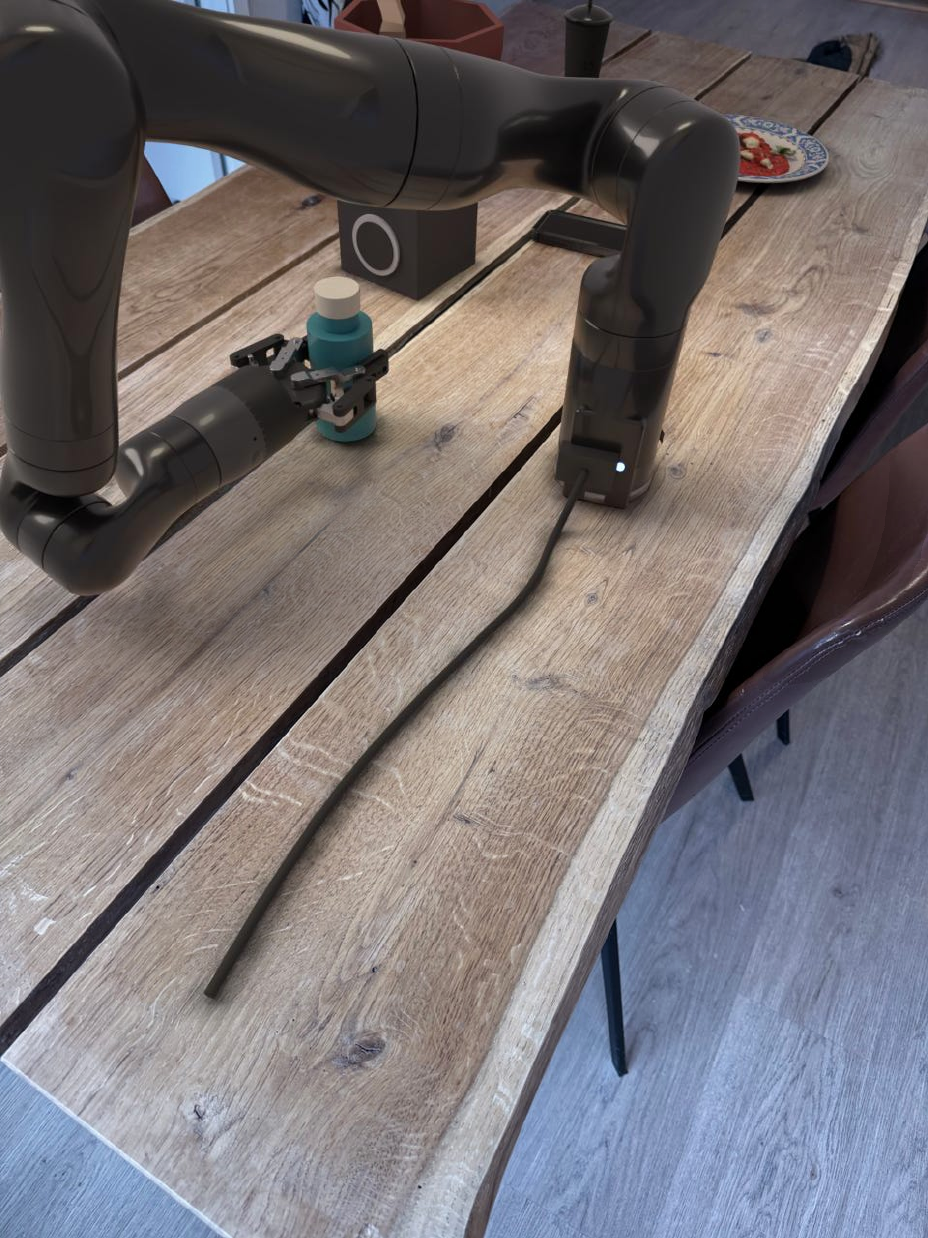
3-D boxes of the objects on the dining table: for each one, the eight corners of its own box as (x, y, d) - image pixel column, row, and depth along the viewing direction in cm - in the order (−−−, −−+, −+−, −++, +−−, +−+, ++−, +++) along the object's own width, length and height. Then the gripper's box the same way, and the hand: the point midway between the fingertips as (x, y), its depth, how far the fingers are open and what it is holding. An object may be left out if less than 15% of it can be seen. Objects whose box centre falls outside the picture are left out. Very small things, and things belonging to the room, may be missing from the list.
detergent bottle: (364, 446, 88) (356, 309, 77) (306, 434, 89) (291, 297, 78) (384, 412, 92) (380, 277, 81) (329, 401, 93) (317, 266, 82)
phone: (549, 207, 124) (655, 231, 120) (548, 216, 125) (653, 239, 121) (528, 231, 119) (638, 256, 115) (527, 239, 120) (636, 265, 116)
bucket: (421, 207, 125) (421, -6, 107) (305, 163, 134) (286, -42, 115) (522, 154, 139) (537, -43, 120) (410, 117, 147) (408, -73, 128)
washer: (414, 302, 108) (413, 172, 97) (338, 270, 112) (329, 142, 101) (475, 263, 115) (481, 138, 104) (401, 235, 119) (399, 112, 108)
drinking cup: (546, 103, 154) (560, -39, 139) (585, 98, 156) (603, -43, 141) (569, 119, 149) (585, -26, 134) (608, 113, 152) (629, -30, 137)
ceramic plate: (653, 184, 133) (657, 163, 131) (659, 121, 150) (662, 101, 148) (831, 204, 131) (838, 183, 128) (817, 137, 148) (823, 117, 146)
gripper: (287, 423, 72) (418, 335, 81) (163, 360, 77) (299, 285, 86) (297, 496, 77) (418, 406, 87) (180, 432, 83) (306, 354, 92)
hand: (358, 346), depth 86 cm, fingers closed on detergent bottle, 6 cm apart
